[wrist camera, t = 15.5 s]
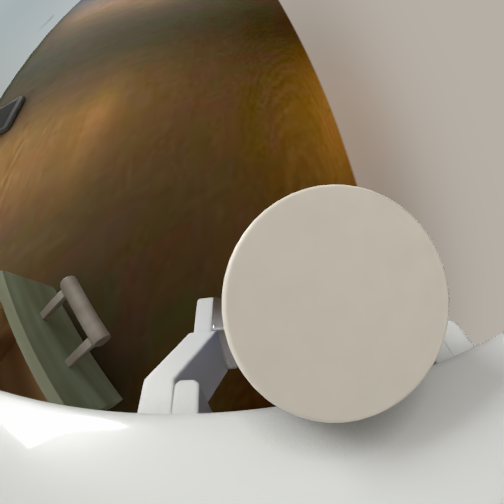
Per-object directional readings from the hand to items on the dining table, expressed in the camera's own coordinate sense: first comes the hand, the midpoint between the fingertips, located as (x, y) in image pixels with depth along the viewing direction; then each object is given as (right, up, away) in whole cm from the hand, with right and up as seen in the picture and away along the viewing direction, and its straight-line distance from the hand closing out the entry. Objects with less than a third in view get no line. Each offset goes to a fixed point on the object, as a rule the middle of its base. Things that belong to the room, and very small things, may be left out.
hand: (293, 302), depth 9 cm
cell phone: (-46, +24, +19) cm, 55 cm away
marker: (0, -3, +8) cm, 8 cm away
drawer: (-19, -9, +9) cm, 22 cm away
